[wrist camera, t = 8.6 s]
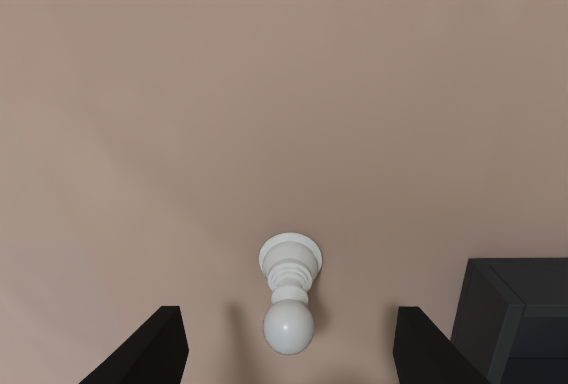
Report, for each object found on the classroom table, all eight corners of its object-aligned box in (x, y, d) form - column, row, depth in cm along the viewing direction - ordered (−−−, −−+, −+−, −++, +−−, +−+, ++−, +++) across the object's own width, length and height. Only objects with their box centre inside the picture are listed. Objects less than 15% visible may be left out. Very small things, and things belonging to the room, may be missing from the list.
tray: (616, 256, 14) (694, 305, 11) (541, 429, 18) (583, 493, 15) (468, 258, 14) (508, 304, 11) (431, 427, 18) (453, 489, 16)
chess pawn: (250, 270, 15) (228, 367, 10) (272, 221, 14) (259, 303, 9) (306, 290, 15) (310, 392, 10) (332, 243, 14) (348, 334, 9)
